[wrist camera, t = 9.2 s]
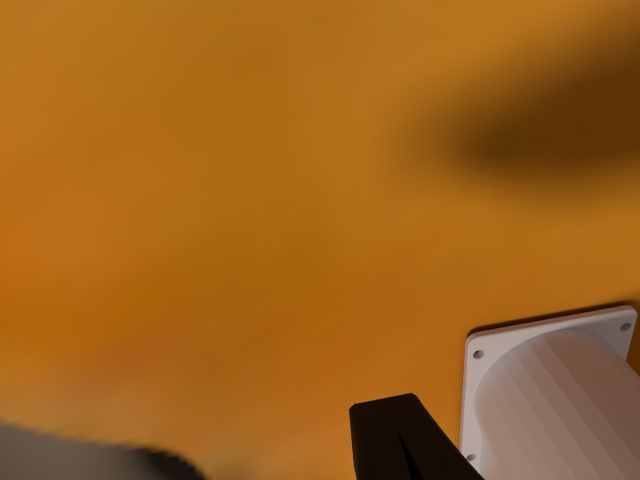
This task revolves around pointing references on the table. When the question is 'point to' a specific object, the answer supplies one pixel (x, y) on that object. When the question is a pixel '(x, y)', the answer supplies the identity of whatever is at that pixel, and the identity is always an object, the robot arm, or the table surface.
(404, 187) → the table surface
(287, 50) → the table surface
